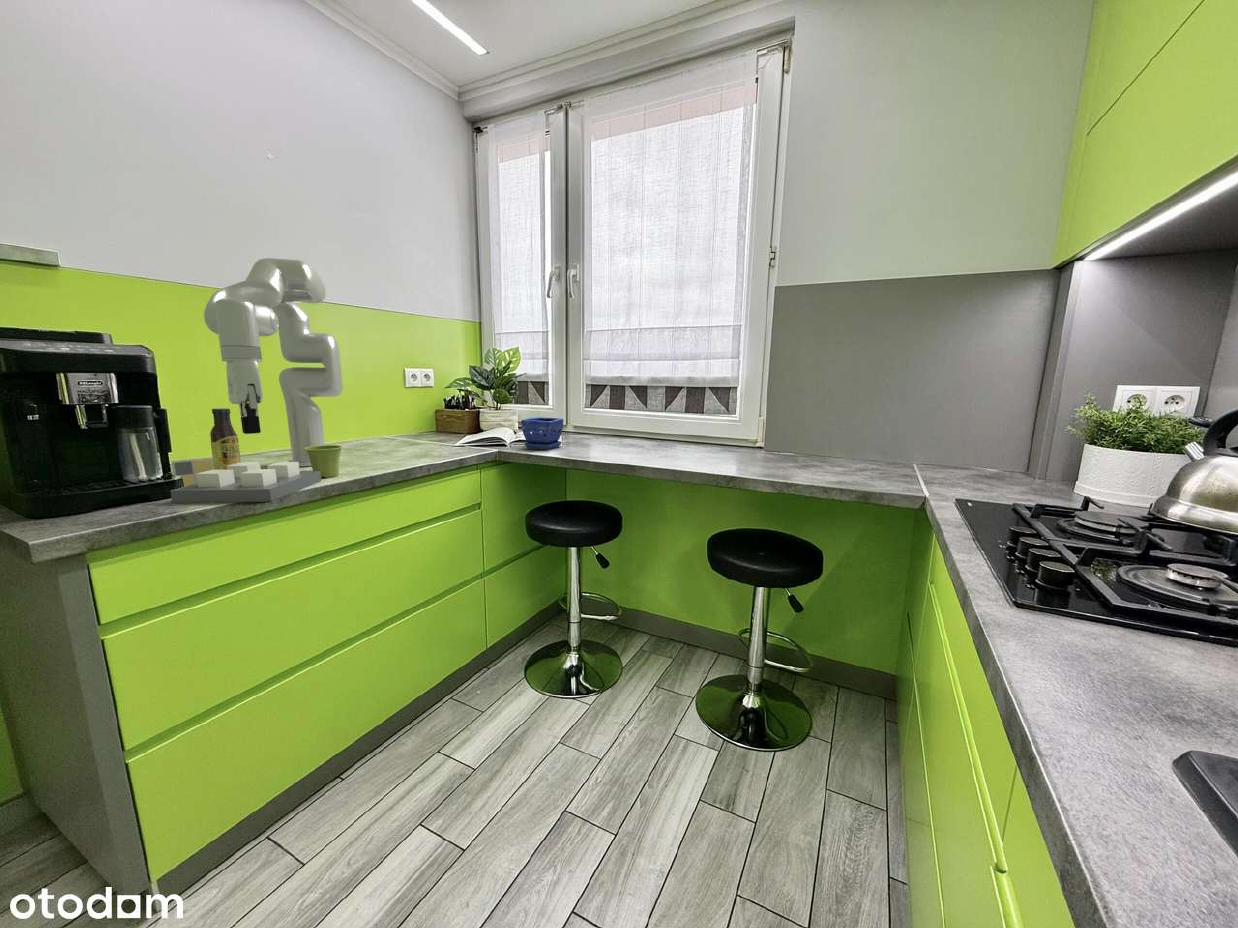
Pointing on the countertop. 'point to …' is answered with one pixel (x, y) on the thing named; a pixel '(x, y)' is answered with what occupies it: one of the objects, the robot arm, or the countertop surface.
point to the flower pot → (542, 432)
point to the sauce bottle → (223, 440)
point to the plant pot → (325, 459)
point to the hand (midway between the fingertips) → (251, 433)
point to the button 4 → (285, 469)
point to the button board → (245, 490)
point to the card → (191, 468)
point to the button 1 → (215, 478)
